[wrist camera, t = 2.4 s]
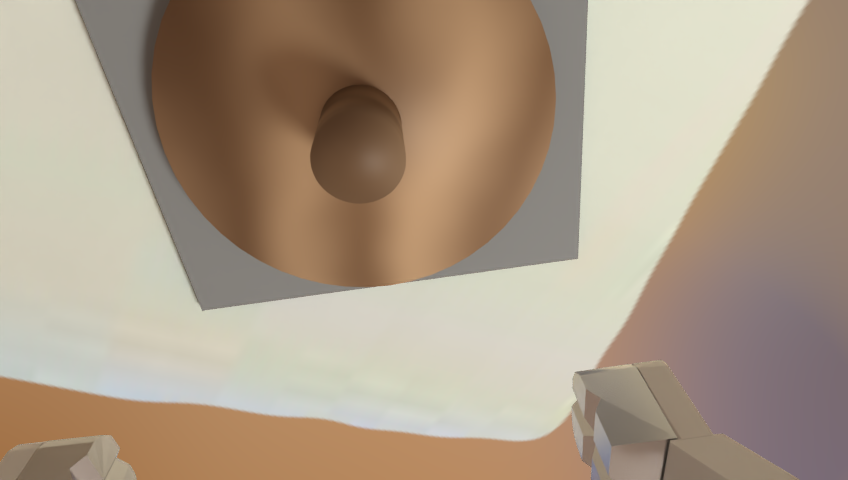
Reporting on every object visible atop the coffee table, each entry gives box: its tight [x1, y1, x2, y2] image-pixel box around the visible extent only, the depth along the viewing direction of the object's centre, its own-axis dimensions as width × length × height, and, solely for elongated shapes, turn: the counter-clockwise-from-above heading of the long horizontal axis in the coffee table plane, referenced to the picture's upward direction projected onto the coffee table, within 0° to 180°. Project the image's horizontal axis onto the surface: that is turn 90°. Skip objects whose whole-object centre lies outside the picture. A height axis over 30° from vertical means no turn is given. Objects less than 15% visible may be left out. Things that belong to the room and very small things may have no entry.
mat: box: [75, 0, 588, 311], centre depth 24 cm, size 20×18×1 cm
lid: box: [152, 0, 556, 287], centre depth 22 cm, size 17×17×5 cm
